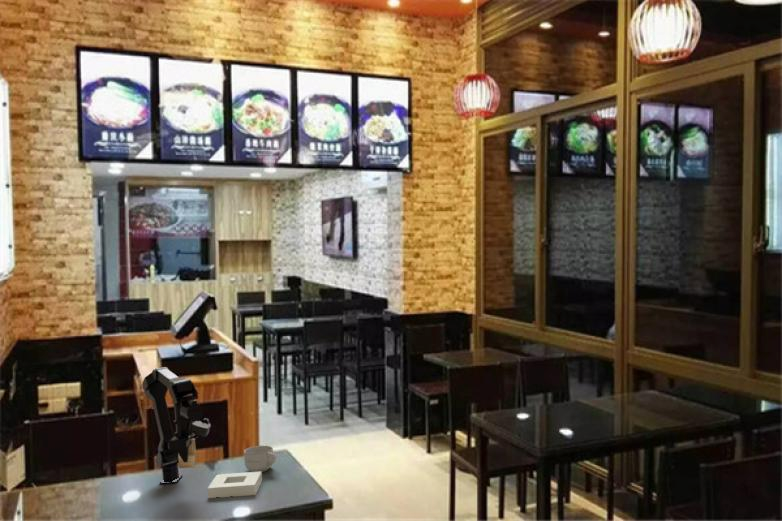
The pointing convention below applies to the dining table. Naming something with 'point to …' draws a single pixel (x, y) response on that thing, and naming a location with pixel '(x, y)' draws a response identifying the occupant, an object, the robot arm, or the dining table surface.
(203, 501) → the dining table surface
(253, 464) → the teacup
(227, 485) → the well block
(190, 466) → the wooden bar
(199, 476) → the dining table surface
